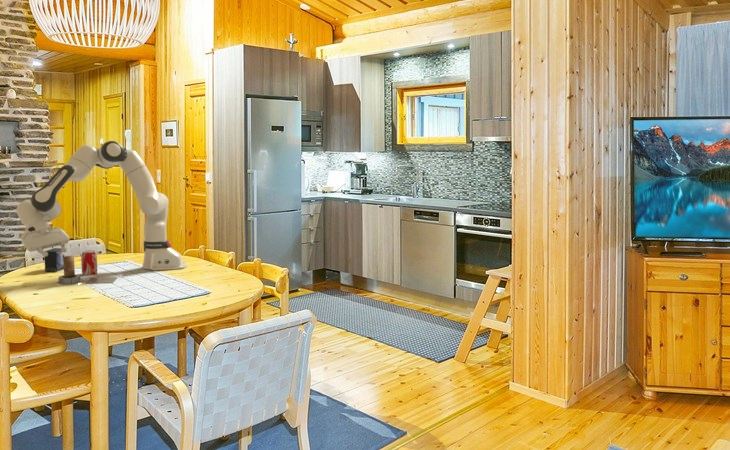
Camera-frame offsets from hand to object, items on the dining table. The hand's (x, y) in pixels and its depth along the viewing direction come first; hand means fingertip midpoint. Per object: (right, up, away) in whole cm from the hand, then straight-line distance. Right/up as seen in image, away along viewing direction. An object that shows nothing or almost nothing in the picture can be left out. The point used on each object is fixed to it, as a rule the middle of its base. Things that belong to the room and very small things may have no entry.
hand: (55, 253), depth 291 cm
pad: (+21, -14, +1) cm, 25 cm away
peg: (+8, -13, -4) cm, 16 cm away
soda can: (+8, -12, +17) cm, 22 cm away
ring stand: (+8, -14, -4) cm, 17 cm away
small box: (-15, -10, +31) cm, 36 cm away
